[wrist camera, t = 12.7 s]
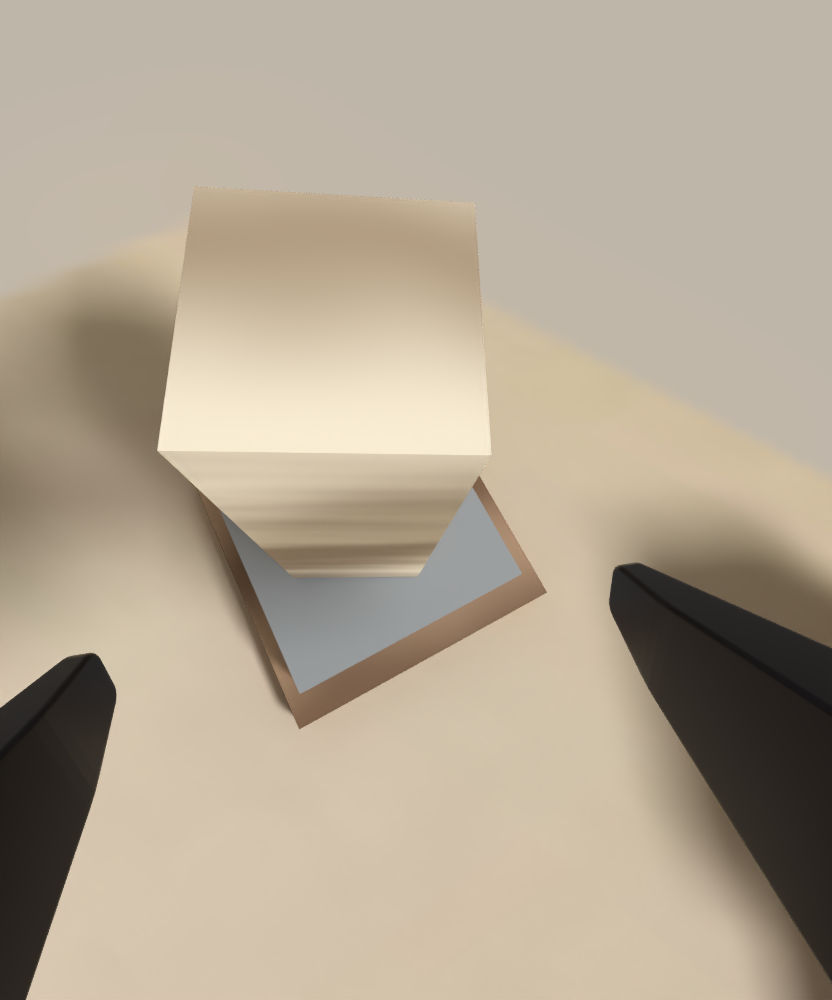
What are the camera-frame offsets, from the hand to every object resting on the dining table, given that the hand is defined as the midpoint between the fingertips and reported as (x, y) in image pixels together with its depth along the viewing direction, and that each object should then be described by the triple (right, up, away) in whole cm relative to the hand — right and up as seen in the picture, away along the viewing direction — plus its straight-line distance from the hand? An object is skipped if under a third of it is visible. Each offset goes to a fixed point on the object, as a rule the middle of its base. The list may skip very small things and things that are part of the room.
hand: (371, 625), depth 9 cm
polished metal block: (-1, +2, +10) cm, 10 cm away
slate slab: (-1, +1, +12) cm, 12 cm away
